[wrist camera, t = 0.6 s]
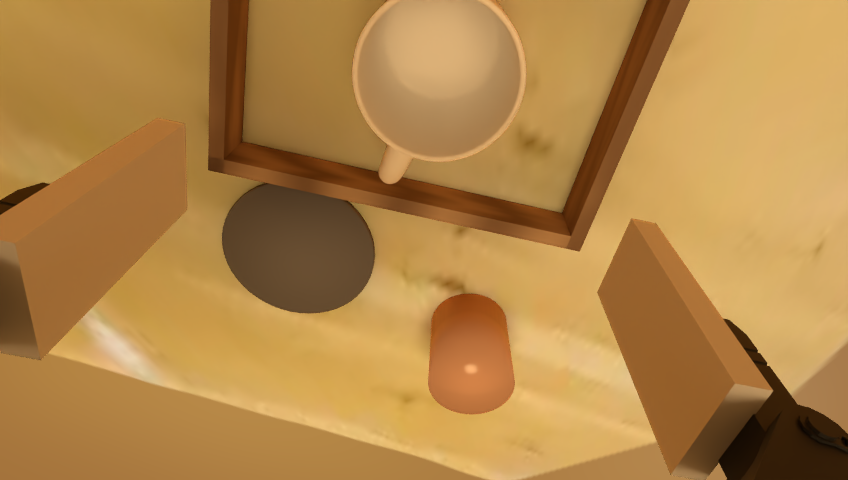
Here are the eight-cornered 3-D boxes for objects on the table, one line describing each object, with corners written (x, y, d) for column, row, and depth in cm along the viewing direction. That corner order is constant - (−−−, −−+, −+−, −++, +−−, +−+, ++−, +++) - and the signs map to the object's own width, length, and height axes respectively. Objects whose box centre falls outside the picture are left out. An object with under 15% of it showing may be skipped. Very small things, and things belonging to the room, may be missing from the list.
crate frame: (227, 151, 38) (208, 170, 35) (237, -148, 29) (212, -157, 26) (570, 227, 40) (579, 251, 37) (678, -33, 31) (702, -29, 28)
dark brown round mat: (223, 292, 45) (220, 297, 44) (227, 164, 39) (224, 167, 38) (361, 321, 46) (360, 325, 45) (387, 199, 40) (386, 202, 39)
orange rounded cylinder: (424, 344, 47) (420, 405, 41) (441, 286, 43) (439, 343, 37) (494, 358, 47) (500, 420, 41) (516, 302, 44) (526, 361, 38)
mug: (444, 171, 38) (442, 242, 29) (338, 121, 37) (302, 181, 28) (531, 9, 33) (561, 38, 24) (410, -57, 31) (394, -53, 22)
